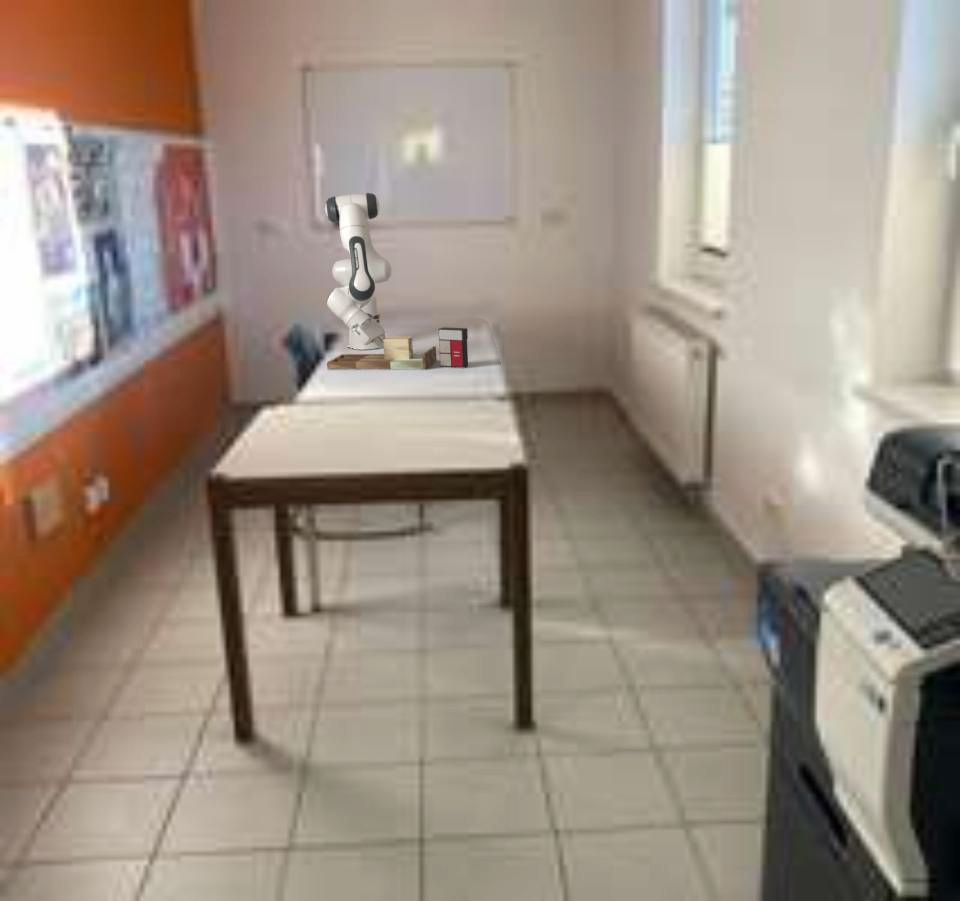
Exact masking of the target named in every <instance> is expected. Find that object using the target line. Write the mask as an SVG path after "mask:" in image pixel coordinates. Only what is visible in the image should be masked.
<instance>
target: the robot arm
mask: <svg viewBox="0 0 960 901" xmlns="http://www.w3.org/2000/svg"><path fill="white" fill-rule="evenodd" d="M324 212H325V215H326V217H327V218H328V221H330V222H331V223H336V224H339V236H340V240H341V244H342V247H343V249H344V250H345V251H347V252H348V253H349V258H344V259H340V260H337V261H335V262H334V263H333V265H332V269H331V274H332V277H333V279H334V280H335V282H337V283H338V284H339V285H340V286H341V287H334V289H332V290H331V292H330V293H329V294H328V296H327V298H326V306H327V307H328V308H329V310H330V311H331V312H332V314H334V315H335V316H336V317H337V318H338V319H340V320H342V321H343V323H344V324H345V326H346V327H348V330H349V344H346V348H347V347H350V348H349V349H352V348H353V349H352V350H375V349H382V350H384V340H383V339H385V338H386V331H385V329H384V327H383V326H382V325H381V323H380V318H381V316H380V315H381V314H380V313H378V303H377V301H378V300H377V297H376V296H375V294H374V293H375V289H376V284H379V283H384V282H387V281H388V280H389V279H390V278H391V276H392V265H391V263H390V262H389V261H388V259H386V258H385V257H383V256H382V255H380V253H378V252H377V251H376V249H375V248H374V245H373V243H372V239H371V232H370V224H369V220H372V219H375V218H377V217H378V215H379V212H380V202H379V199H378V197H377V196H376V195H375V194H374V193H372V192H371V193H370V192H366V193H350V194H344V195H339V196H338V195H337V196H332V197H329V198H327V200H326V201H325V206H324Z"/></svg>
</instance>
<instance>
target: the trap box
mask: <svg viewBox="0 0 960 901" xmlns="http://www.w3.org/2000/svg"><path fill="white" fill-rule="evenodd" d="M437 361H438V360H437V346H432V347H430V348H429V349H427V351H425V352H423V353H413V357H412V358H411V359H385V355H384V353H361V354H359V353H357V354H356V353H353V354H352V353H351V354H350V353H349V354H348V353H341V354H339V355H337V356H336V357H333V358H332V359H330V360H328V361H327V362H326V368H327V369H426V370H427V369H428V368H430V367H431V366H432V365H433V363H434V362H435V363H436V362H437ZM435 363H434V364H435ZM429 366H430V367H429Z"/></svg>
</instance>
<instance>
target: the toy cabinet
mask: <svg viewBox="0 0 960 901" xmlns="http://www.w3.org/2000/svg"><path fill="white" fill-rule="evenodd" d="M468 335H469V334H468V328H466V327H464V328H463V327H448V326H447V327H446V326H445V327H444V326H443V327H440V328H438V344H439V345H438V346H439V364H440V367H441V366H442V367H441V368H444V367H445V368H456V367H465V368H468V367H469V358H468V357H469V352H468V351H469V350H468V337H469V336H468ZM467 366H468V367H467Z"/></svg>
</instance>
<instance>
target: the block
mask: <svg viewBox="0 0 960 901" xmlns="http://www.w3.org/2000/svg"><path fill="white" fill-rule="evenodd" d="M383 340H384V348H383V352H384V353H383V354H384V355H385V359H411V358H412V357H413V354H414V350H413V349H414V348H413V345H414V344H413V337H412V336H387V337H385V339H383Z"/></svg>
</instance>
